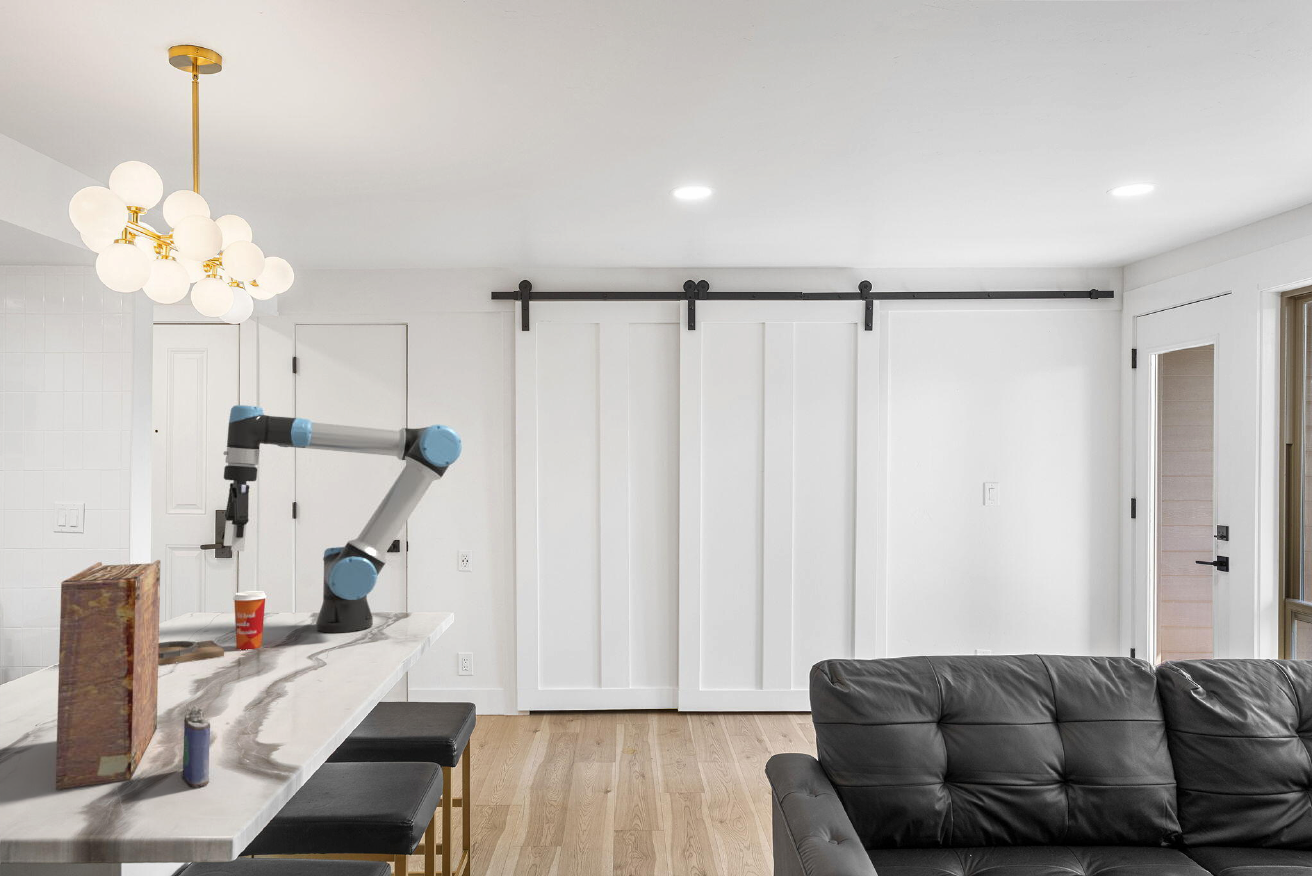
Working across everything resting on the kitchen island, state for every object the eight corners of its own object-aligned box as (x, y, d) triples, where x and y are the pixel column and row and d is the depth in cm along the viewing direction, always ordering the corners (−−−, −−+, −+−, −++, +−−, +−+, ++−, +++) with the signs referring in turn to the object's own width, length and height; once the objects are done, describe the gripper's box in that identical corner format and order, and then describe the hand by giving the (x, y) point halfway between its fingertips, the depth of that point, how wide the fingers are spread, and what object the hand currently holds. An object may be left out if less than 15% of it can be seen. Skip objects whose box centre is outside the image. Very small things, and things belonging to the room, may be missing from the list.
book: (95, 735, 135) (99, 561, 136) (157, 727, 139) (161, 559, 140) (54, 791, 112) (60, 582, 113) (131, 780, 116) (135, 578, 117)
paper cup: (224, 649, 196) (225, 594, 197) (248, 643, 204) (249, 589, 204) (249, 652, 194) (250, 595, 194) (273, 645, 201) (274, 590, 202)
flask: (210, 785, 114) (211, 711, 114) (187, 790, 112) (188, 715, 113) (200, 766, 121) (201, 697, 122) (178, 771, 119) (179, 700, 120)
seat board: (211, 646, 200) (211, 635, 200) (223, 656, 190) (224, 645, 190) (107, 659, 186) (107, 648, 186) (114, 671, 175) (115, 659, 176)
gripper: (218, 463, 208) (210, 543, 207) (232, 465, 188) (223, 553, 187) (249, 465, 213) (242, 543, 211) (266, 467, 193) (258, 553, 191)
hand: (233, 548), depth 199 cm, fingers open, 13 cm apart
